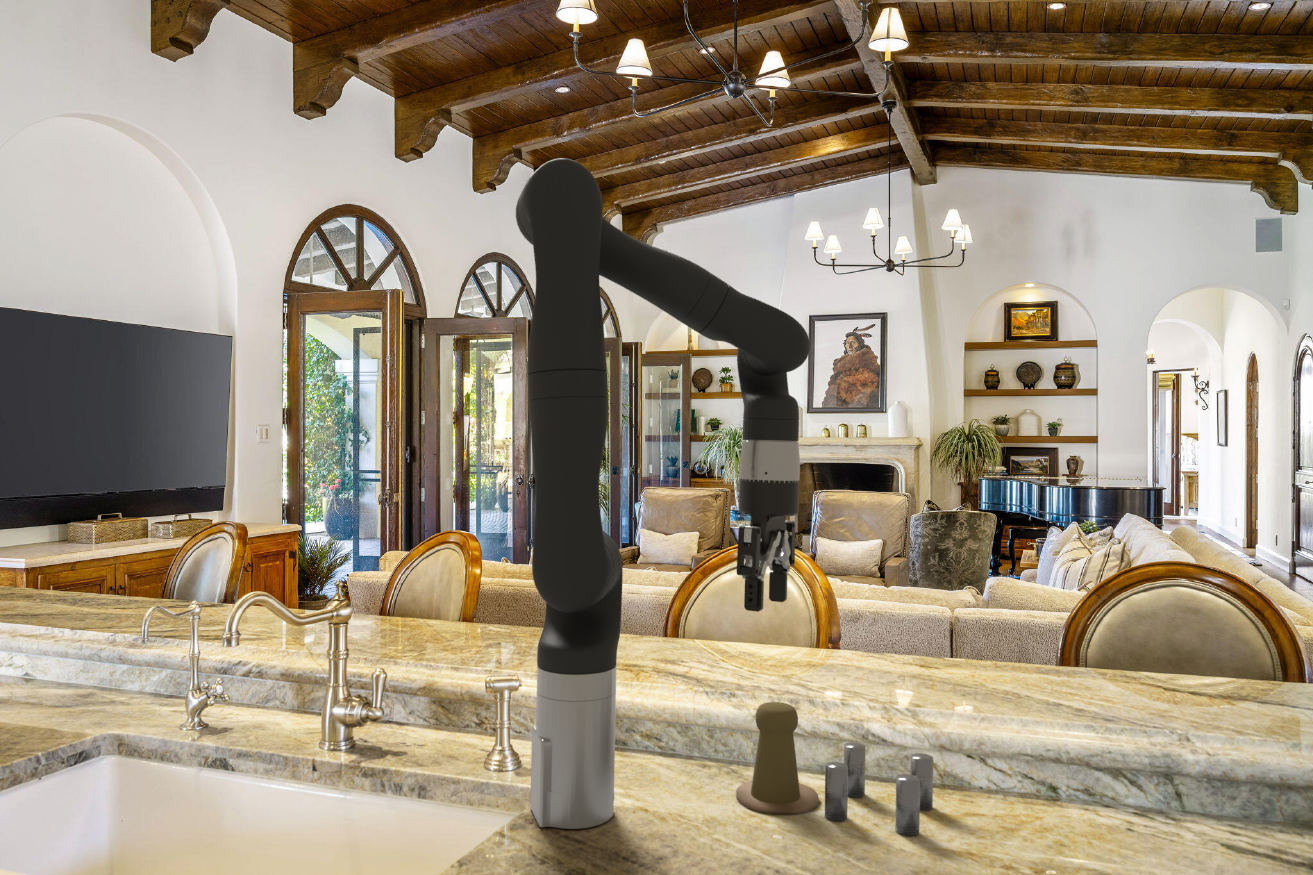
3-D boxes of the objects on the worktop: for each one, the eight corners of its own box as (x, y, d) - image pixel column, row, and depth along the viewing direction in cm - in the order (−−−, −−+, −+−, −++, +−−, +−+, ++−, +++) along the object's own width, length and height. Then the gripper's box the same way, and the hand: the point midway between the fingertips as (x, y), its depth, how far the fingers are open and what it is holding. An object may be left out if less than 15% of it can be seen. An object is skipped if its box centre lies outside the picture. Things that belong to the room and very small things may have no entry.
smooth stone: (756, 819, 105) (756, 813, 105) (723, 787, 114) (723, 783, 114) (833, 809, 108) (833, 804, 108) (795, 780, 117) (795, 775, 117)
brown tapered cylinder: (798, 806, 107) (799, 713, 107) (747, 800, 109) (749, 708, 109) (802, 787, 113) (803, 699, 113) (753, 783, 114) (755, 695, 115)
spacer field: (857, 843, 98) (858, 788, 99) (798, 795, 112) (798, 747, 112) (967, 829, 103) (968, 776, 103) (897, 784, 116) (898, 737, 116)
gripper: (778, 479, 106) (774, 617, 106) (815, 477, 119) (812, 601, 118) (719, 476, 109) (715, 610, 109) (761, 475, 122) (758, 595, 122)
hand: (766, 605), depth 114 cm, fingers open, 8 cm apart
